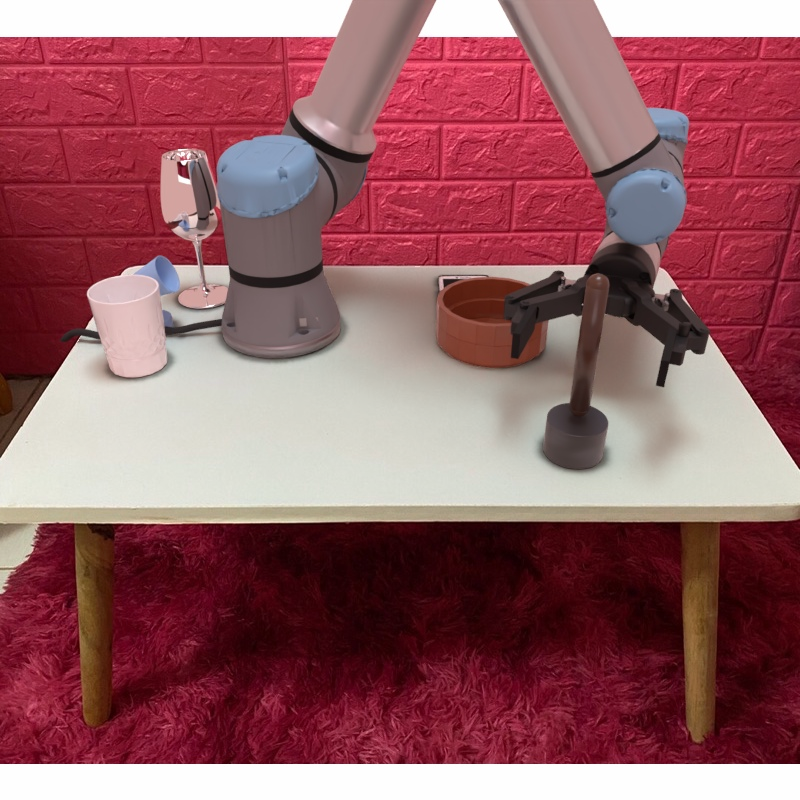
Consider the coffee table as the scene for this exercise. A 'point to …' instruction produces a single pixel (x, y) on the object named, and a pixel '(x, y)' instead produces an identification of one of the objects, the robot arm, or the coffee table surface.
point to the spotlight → (162, 280)
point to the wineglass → (192, 214)
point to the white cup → (130, 324)
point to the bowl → (482, 323)
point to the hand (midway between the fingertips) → (586, 359)
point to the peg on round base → (581, 392)
